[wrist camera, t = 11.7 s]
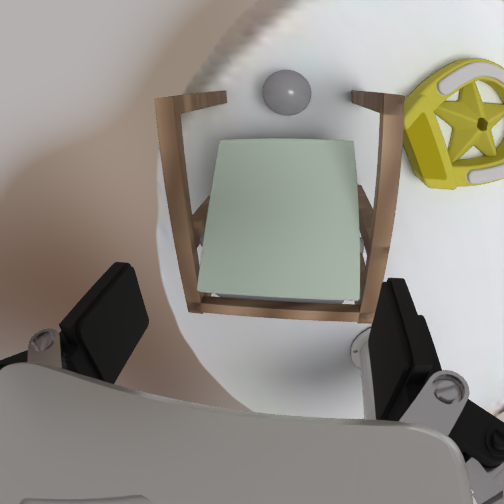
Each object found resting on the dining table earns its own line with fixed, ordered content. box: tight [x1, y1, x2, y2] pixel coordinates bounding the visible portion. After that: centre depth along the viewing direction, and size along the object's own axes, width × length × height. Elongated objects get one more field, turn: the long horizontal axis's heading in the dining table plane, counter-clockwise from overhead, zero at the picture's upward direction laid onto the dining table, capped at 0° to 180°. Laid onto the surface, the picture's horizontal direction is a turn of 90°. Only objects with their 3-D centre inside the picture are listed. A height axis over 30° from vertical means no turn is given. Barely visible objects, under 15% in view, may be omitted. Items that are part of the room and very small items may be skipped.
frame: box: [155, 91, 405, 324], centre depth 32 cm, size 19×21×17 cm
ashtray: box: [403, 59, 504, 190], centre depth 29 cm, size 16×21×5 cm
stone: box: [263, 70, 311, 116], centre depth 32 cm, size 5×5×5 cm
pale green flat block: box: [197, 139, 364, 304], centre depth 31 cm, size 15×16×5 cm
